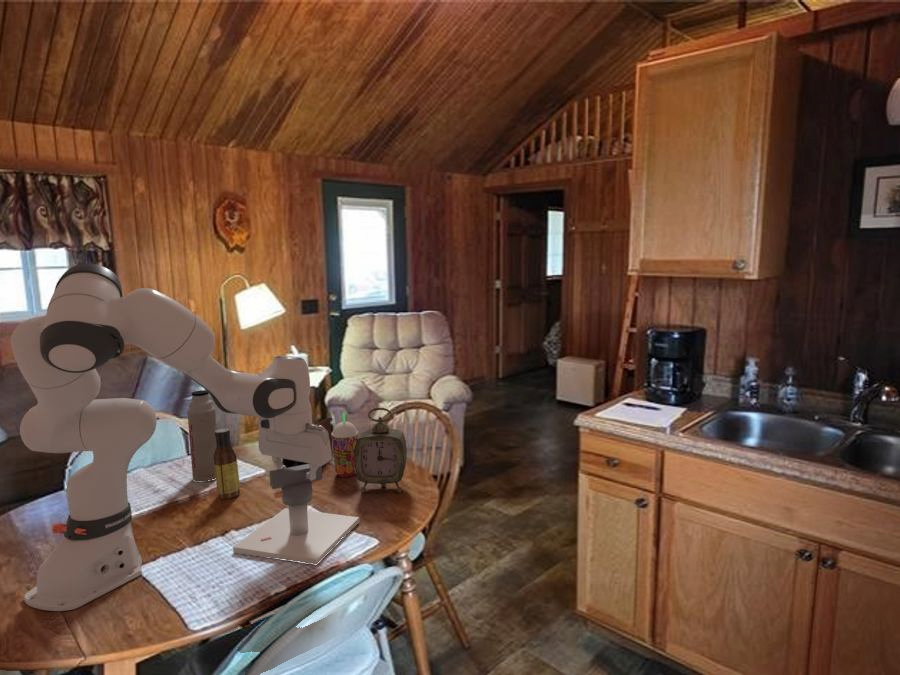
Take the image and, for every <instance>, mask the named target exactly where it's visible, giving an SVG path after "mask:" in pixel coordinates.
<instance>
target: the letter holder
mask: <svg viewBox="0 0 900 675" xmlns="http://www.w3.org/2000/svg"><path fill="white" fill-rule="evenodd" d="M316 425H321V426H323V427H324V428H325V429H326V430H327V431H328V434H329V440H330V446H331V452H332V455H334V453H333V444H332V435H331V433H332V422H331V419H330V418H329V417H328V418H324V419H323V420H321V421H319V422H318V423H317V424H316ZM281 460H282V463H283V465H284V466H286V468H289V467H294V466H300V465H305V464H309V463H305V462H300V461H294V460H289V459H284V458H281Z"/></svg>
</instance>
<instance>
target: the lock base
mask: <svg viewBox="0 0 900 675" xmlns="http://www.w3.org/2000/svg"><path fill="white" fill-rule="evenodd" d="M358 523H359V524H360V517H359V516H354V515H353V516H352V515H351V516H350V515H343V514H335V513H327V512H320V511H312V510H308V503H306V504H303V505H298V506H288V508H287V507H285V508H283V509H281V511H279V512H278V513H276V514H275V515H274V516H273V517H271V518H270V519H269V520H267V521H266V522H264V523H263V524H262V525H261V526H259V527H258V528H256V529H255V530H254V531H252V532H251V533H250V534H248V535H247V536H245V537H244V538H243V539H242V540H240V541H238V543H236V544H235V545H234V546H232V550H233V552H234V553H233V554H237V553H241V554H240V555H243V554H246V555H245V556H249V555H253V556H252V557H256V556H262V557H270V558H279V559H286V560H293V561H300V562H305V563H313V564H317V563H318V562H319V561H320V560H321V559H322V558H323V557H324V556H325V555H326V554H327V553H328V552H329V551H330V550H331V549H332V548H333V547H334V546H335V545H336V544H337V543H338V542H339V541H340V540H341V538H342V537H344V536H345V535H346V534H347V533H348V532H349V531H350V530H352V529H353V528H354V527H355V526H356V525H357V524H358ZM359 524H358V525H359ZM358 525H357V526H358ZM357 526H356V527H357ZM356 527H355V528H356ZM355 528H354V529H355ZM354 529H353V530H354ZM353 530H352V531H353ZM262 557H261V558H262Z"/></svg>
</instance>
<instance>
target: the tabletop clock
mask: <svg viewBox="0 0 900 675" xmlns="http://www.w3.org/2000/svg"><path fill="white" fill-rule="evenodd" d="M375 411H385V412H387V413H388V414H389V417H387V418H384V419H383V417H382V416H379V417H378V418H377V419H375V418H373V417H371V413H373V412H375ZM367 416H368V419H370V420H371V421H372V422H375V423H374V424H373V426H372V428H371V429H370V428H369V429H365V430H363V431H361V432H360V435H358V439H357V442H356V445H355V453H354V462H355V471H356V473H355V475H356V477H357V479H358V481H359V482H361V483H364V485H363V486H362V487H361V488H360V490H359V491H360V492H361V493H365V492H366V491H367V489H366V487H367V485H368V484H374V485H380V486H381V487H382V486H384V487H386V485H387V484H388V485H389V484H395V485H396V492H397V493H401V492H403V489H402V487H400V485H399V482H401V481H402V478H403V476H404V472H405V469H406V466H407V459H408V458H407V457H408V456H407V455H408V449H407V440H406V436H405V434H404V432H403V431H402V430H400V429H393V428H390V427H389V425H388V424H387V423H385V422H389V421H390V420H391V419H392V417H393V413H392V412H391V410H389V409H387V408H385V407H375V408H373V409H371V410H370V411H368V414H367Z"/></svg>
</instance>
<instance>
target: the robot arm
mask: <svg viewBox="0 0 900 675" xmlns="http://www.w3.org/2000/svg"><path fill="white" fill-rule="evenodd" d="M125 344H126V345H134V346H136V347H138V348H140V349H142V350H143V351H145V352H146V353H148V354H149V355H150V356H152V357H153V358H155V359H156V360H158V361H159V362H161V363H163V364H164V365H167V366H168V367H170V368H173V369H174V370H176V371H179V372H182V373H183V374H184V375H185V376H186V377H188V378H189V379H190V380H192V381H194V382H195V383H196V384H197V385H199V386H200V387H201V388H202V389H203V390H206V391H207V392H208V393H209V394H208V395H209V396H210V397H211V399H212V402H213V403H214V404H215V405H216V406H217V408H218V409H219V410H220V411H222V412H224V413H226V414H234V415H242V416H248V417H252V418H259V419H258V421H257V426H258V428H259V430H258V434H257V435H258V437H257V438H258V439H257V440H258V450H259V452H260V454H261V455H263V456H268V457H271V461H272V463H273V464H274V466H275V468H276V469H275V470H278V469H284V468H286V466H284V465H283V463H282V458H284V459H289V460H294V461H300V462H305V463H309V467H311V469H310V471H309V472H307V473H306V476H307V477H306V479H307V480H314V479H316V471H317V469H318V467H319V465H322V466H324V465H325V464H327V463H329V462H330V461H331V460H332V457H333V454H332V452H331V446H330V440H329V434H328V431H327V430H326V429H325V428H324V427H323V426H321V425H317V424H314V423H313V416H312V415H313V414H312V404H311V402H310V394H311V380H310V379H311V378H310V370H309V367H308V363H307V361H306V360H305V358H303V357H300V356H291V355H277V356H274V357H273V359H272V362H271V363H270V364H269V366H268V367H267V368H266V369H264V370H263V371H262V372H259V373H258V374H257V373H251V372H250V373H249V372H244V371H241V370H235V369H228V368H227V367H224V366H223V365H222V364H221V363H220V362H218V361H217V360H216V359H214V357H213V356H212V355H213V353H214V350H215V347H216V335H215V332H214V331H213V329H212V328H211V327H210V326H209V325H208V324H207V323H206V322H205V321H204V320H203V319H202V318H201V317H199V316H198V315H197V314H195V313H194V311H192V310H190V309H189V308H188V307H186V306H185V305H183V304H182V303H180V302H178V301H177V300H176V299H173V298H172V297H170V296H168V295H167V294H164V293H162V292H160V291H158V290H156V289H153V288H149V287H140V288H137V289H134V290H131V292H129V293H127V294H126V295H124V296H123V287H122V284H121V281H120V279H119V277H118V276H117V274H116V273H114V272H113V270H111V269H108V268H107V267H105V266H102V265H100V264H95V263H79V264H76V265H75V264H74V265H73V266H71V267H70V268H68V269H67V270H66V271H65V272H64V273H63V274H62V275H61V277H60V278H59V279H58V281H57V283H56V284H55V288H54V291H53V293H52V296H51V298H50V300H49V303H48V305H47V307H46V313H45V315H39V316H35V317H31V318H28V319H26V320H24V321H22V322H21V323H20V324H19V325H17V326H16V327H15V329H13V332H12V334H11V336H10V346H11V350H12V353H13V354H12V355H13V356H14V360H15V362H16V364H17V367H18V369H19V372H20V373H21V375H22V376H23V378H24V379H25V381H26V382H27V384H28V387H30V390H31V391H32V393H33V394H34V396H35V398H36V400H37V404H36V405H35V406H32V407H31V408H29V410H28V411H26V412H25V414H24V416H23V418H22V420H21V422H20V427H19V434H20V437H21V438H20V439H21V440H22V442H23V444H24V445H25V447H27V448H28V449H29V450H30V451H33V452H40V453H50V454H51V453H52V454H65V453H66V454H67V453H77V452H81V453H82V452H92V454H93V459H92V462H90V463H87V464H86V465H84V466H81V468H79V469H77V470H76V471H75V472H74V473H73V474H72V475H71V476H70V477H69V479H68V481H67V484H66V485H67V486H66V490H67V499H68V500H67V501H68V510H69V511H68V512H69V514H68V516H67V519H66V524H64V523H60V522H56V523H54V524H53V525H52V527H51V531H52V533H53V534H60V535H62V534H63V537H62V538H61V540H60V541H59V542H58V543H57V545H56V546H55V547H54V549H52V551H51V552H50V553H49V554H48V556H47V557H46V558H45V559H44V561H43V562H42V563H41V564H40V565H39V567H38V569H37V574H36V585H35V586H34V587H32V588H31V589H30V590H28V591H27V592H26V593H25V594H24V597H23V602H24V603H25V604H26V605H27V606H29V607H31V608H34V609H36V610H37V609H38V610H42V611H49V612H50V611H51V612H64V611H71V610H76V609H78V608H80V607H83V606H84V605H86V604H88V603H90V602H91V601H93V600H95V599H97V598H100V597H101V596H103V595H105V594H107V593H109V592H111V591H113V590H114V589H117V588H118V587H121V586H122V585H124V584H126V583H127V582H128V583H129V581H132V580H134V579H135V578H137V577H139V576H141V575H142V574H143V571H142V567H141V566H142V564H143V558H142V556H141V554H140V552H139V550H138V547H137V544H136V541H135V536H134V533H133V528H132V522H131V521H132V520H133V515H132V513H133V512H132V508H131V507H132V506H131V503H130V502H129V501H128V500H129V499H128V498H129V497H128V469H129V465H130V463H131V461H132V459H133V457H134V456H135V454H136V452H138V450H139V449H140V448H142V446H143V445H144V444H146V443H147V442H148V441H149V440H150V439H151V438H152V437H153V435H154V434H155V431H156V428H157V423H158V422H157V419H158V418H157V415H156V411H155V410H154V409H155V408H153V406H152V405H151V404H150V403H149V402H148V401H146V400H143V399H137V398H135V399H134V398H129V397H128V398H127V397H117V398H115V397H114V398H97V399H96V397H97V396H98V395H99V392H100V390H101V384H102V383H101V377H100V375H99V373H98V371H97V369H98V368H100V367H102V366H104V365H105V364H106V363H108V362H109V361H110V360H112V359H116V358H119V357H120V356H121V355H122V354H124V353H123V352H124V351H125Z"/></svg>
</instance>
